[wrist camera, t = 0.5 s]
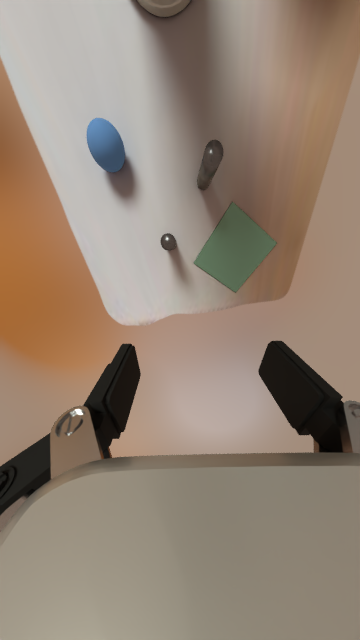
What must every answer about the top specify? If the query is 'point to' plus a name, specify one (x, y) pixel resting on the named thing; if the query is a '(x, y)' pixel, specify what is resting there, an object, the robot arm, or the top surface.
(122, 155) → the ball
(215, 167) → the post
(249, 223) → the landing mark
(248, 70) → the top surface
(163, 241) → the post
